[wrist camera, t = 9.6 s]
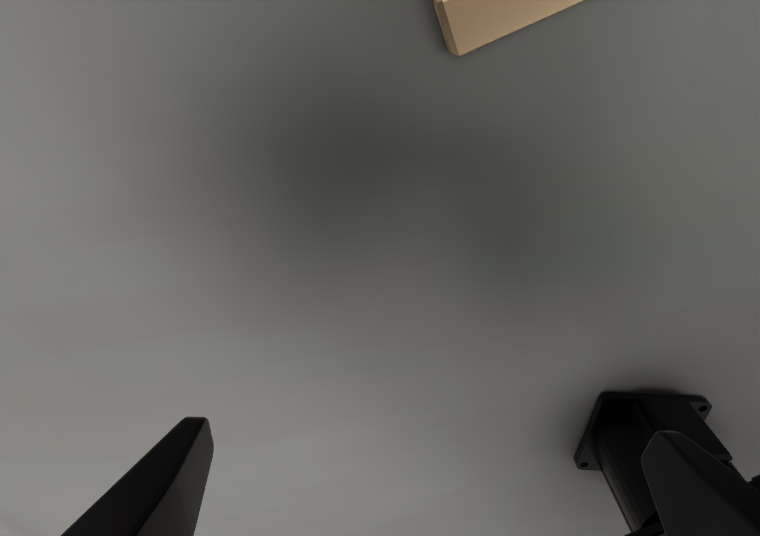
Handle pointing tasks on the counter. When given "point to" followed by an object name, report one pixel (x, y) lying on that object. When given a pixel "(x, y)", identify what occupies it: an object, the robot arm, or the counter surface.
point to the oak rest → (489, 19)
